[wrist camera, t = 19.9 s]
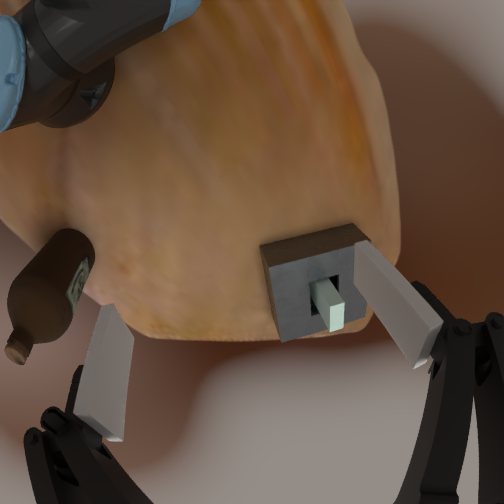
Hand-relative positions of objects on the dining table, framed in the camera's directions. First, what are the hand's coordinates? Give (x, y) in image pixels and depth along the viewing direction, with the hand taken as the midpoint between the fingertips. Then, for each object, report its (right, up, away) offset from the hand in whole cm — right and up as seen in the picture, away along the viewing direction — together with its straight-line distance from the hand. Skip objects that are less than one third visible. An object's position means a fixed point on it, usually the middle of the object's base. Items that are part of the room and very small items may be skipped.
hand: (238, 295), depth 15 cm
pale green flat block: (+12, -3, +40) cm, 42 cm away
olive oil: (-31, +2, +29) cm, 43 cm away
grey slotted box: (+12, -2, +41) cm, 42 cm away
